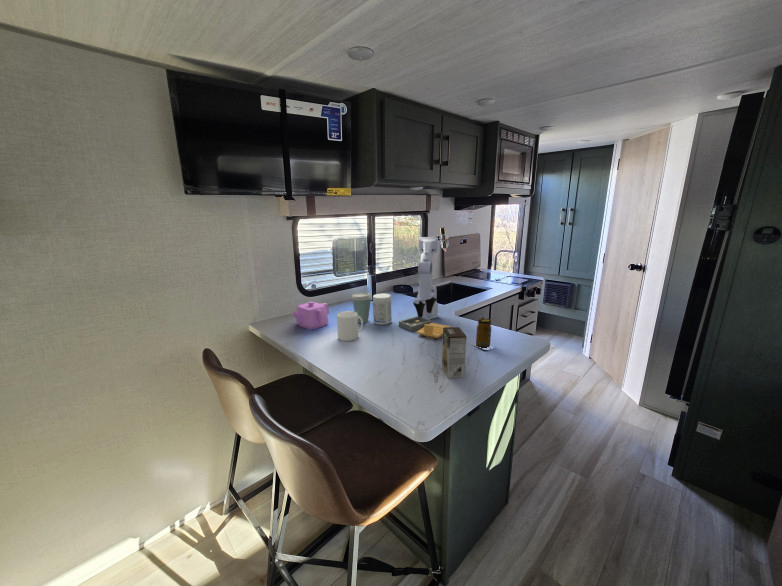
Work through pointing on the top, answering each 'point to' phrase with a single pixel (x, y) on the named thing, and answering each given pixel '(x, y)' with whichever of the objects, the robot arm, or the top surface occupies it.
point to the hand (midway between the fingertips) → (424, 314)
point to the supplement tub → (382, 309)
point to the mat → (431, 337)
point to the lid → (432, 330)
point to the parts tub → (414, 323)
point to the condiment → (483, 333)
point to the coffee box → (454, 352)
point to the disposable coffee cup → (362, 305)
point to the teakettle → (312, 315)
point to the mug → (348, 325)
